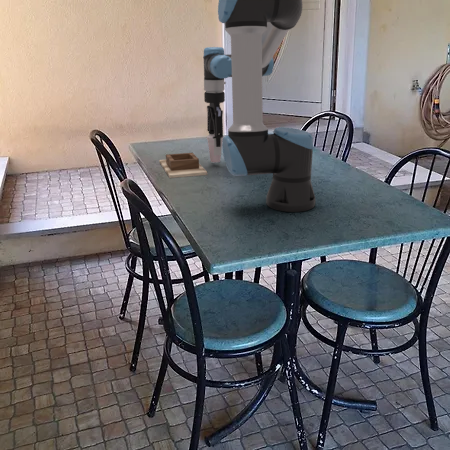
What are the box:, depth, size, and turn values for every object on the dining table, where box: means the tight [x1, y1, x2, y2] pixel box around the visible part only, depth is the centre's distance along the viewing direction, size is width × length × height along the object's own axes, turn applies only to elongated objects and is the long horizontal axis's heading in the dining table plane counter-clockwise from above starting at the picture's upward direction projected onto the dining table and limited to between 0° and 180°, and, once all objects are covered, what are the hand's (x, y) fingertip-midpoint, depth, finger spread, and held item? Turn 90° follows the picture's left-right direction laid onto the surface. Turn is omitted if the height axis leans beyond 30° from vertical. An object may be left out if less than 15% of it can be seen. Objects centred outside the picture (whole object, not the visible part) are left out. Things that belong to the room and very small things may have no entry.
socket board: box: [159, 152, 208, 179], centre depth 201 cm, size 22×14×4 cm, turn 16°
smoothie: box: [206, 134, 224, 163], centre depth 201 cm, size 6×6×14 cm
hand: (215, 152), depth 203 cm, fingers closed on smoothie, 6 cm apart
